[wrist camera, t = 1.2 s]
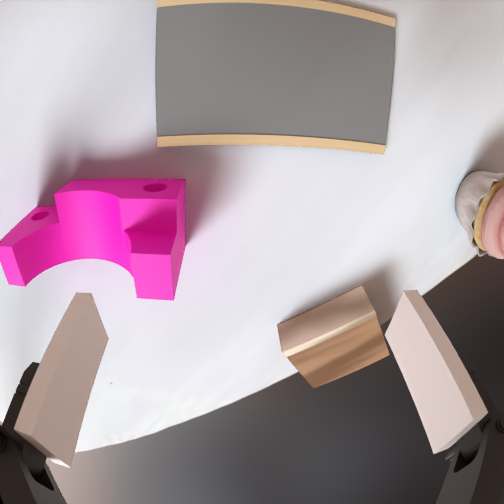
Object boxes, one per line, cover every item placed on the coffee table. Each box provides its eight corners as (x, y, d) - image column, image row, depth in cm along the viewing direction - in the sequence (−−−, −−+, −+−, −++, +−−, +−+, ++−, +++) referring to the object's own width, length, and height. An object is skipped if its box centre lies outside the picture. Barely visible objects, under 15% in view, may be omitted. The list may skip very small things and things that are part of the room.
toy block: (185, 178, 24) (168, 219, 17) (185, 245, 27) (173, 300, 21) (33, 181, 22) (-13, 217, 16) (45, 239, 25) (8, 284, 19)
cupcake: (488, 139, 22) (558, 174, 14) (505, 203, 26) (559, 247, 18) (430, 187, 25) (497, 240, 16) (454, 248, 29) (504, 304, 21)
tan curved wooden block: (389, 354, 32) (374, 309, 27) (313, 388, 34) (281, 352, 29) (378, 330, 35) (361, 284, 31) (307, 363, 37) (276, 323, 33)
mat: (159, 145, 22) (157, 147, 21) (159, 0, 15) (157, -2, 15) (380, 152, 23) (384, 154, 22) (391, 19, 17) (395, 18, 16)
